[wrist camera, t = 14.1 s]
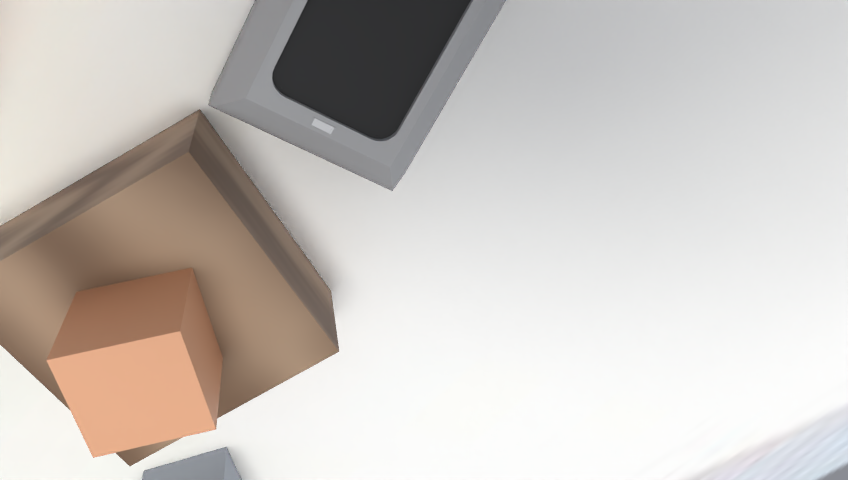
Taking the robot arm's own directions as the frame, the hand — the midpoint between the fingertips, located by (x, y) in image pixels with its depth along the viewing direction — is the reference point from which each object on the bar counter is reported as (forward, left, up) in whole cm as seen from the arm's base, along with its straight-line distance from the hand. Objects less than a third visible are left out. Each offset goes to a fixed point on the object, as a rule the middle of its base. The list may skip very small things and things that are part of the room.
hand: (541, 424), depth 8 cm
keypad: (-2, +1, -31) cm, 31 cm away
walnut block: (+12, +11, -30) cm, 35 cm away
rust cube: (+12, +11, -24) cm, 29 cm away
